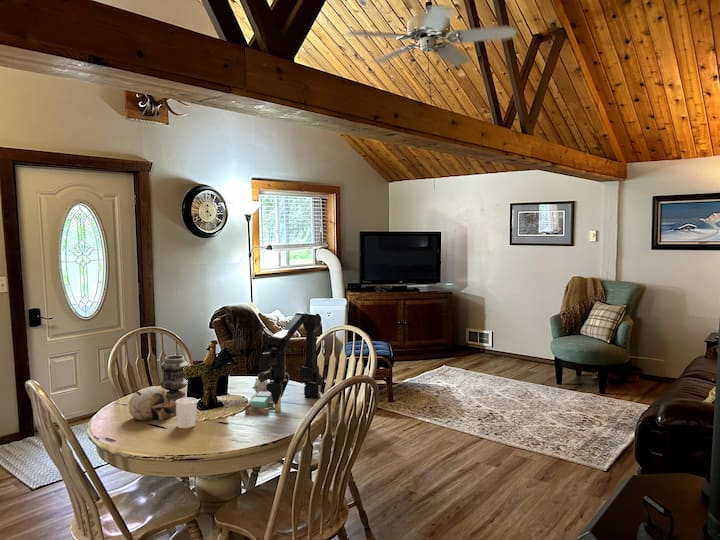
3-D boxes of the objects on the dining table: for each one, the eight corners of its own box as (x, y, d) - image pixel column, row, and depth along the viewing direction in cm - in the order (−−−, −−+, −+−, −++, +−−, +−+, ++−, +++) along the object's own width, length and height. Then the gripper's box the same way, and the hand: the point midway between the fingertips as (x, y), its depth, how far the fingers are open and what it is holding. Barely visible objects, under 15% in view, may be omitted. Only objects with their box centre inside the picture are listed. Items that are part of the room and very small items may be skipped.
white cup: (177, 430, 196) (177, 404, 195) (174, 423, 202) (174, 398, 202) (198, 427, 199) (198, 402, 199) (194, 420, 206) (194, 396, 206)
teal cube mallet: (282, 409, 222) (282, 391, 222) (279, 413, 216) (279, 395, 216) (254, 408, 223) (254, 390, 223) (250, 412, 217) (250, 394, 217)
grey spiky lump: (264, 403, 241) (269, 390, 236) (247, 396, 241) (251, 383, 236) (271, 389, 249) (275, 376, 243) (255, 382, 249) (259, 369, 243)
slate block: (272, 402, 231) (272, 392, 231) (269, 407, 225) (269, 396, 225) (259, 402, 232) (259, 391, 231) (255, 406, 226) (255, 395, 225)
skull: (183, 411, 217) (180, 381, 215) (157, 429, 200) (154, 397, 198) (152, 408, 221) (149, 378, 219) (124, 426, 204) (120, 394, 202)
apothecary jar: (182, 399, 233) (182, 360, 232) (156, 398, 233) (156, 359, 232) (191, 391, 245) (191, 354, 244) (166, 390, 245) (166, 353, 244)
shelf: (277, 401, 233) (277, 393, 233) (268, 414, 215) (268, 406, 215) (256, 400, 234) (256, 393, 233) (245, 413, 216) (245, 405, 215)
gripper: (265, 359, 228) (264, 393, 229) (254, 369, 210) (253, 407, 211) (290, 360, 228) (289, 394, 228) (280, 371, 209) (280, 408, 210)
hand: (278, 401), depth 219 cm, fingers open, 9 cm apart
